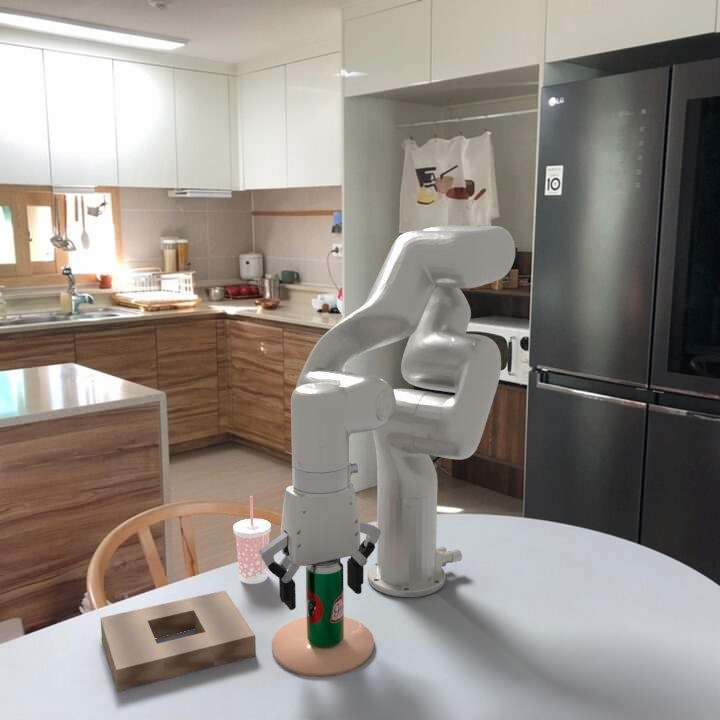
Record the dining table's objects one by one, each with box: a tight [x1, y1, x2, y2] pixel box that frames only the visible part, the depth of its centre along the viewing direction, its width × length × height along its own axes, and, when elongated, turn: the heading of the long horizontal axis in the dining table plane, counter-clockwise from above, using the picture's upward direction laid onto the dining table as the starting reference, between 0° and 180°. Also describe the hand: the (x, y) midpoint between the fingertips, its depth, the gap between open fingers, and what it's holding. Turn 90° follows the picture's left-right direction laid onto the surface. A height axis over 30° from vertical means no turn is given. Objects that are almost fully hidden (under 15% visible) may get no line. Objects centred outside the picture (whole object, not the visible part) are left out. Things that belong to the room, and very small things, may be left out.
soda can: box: [305, 558, 345, 648], centre depth 104 cm, size 5×5×12 cm
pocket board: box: [100, 589, 257, 692], centre depth 105 cm, size 18×14×3 cm
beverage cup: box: [232, 495, 272, 585], centre depth 124 cm, size 6×6×14 cm
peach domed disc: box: [271, 616, 375, 677], centre depth 105 cm, size 14×14×1 cm
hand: (322, 597), depth 104 cm, fingers open, 9 cm apart
